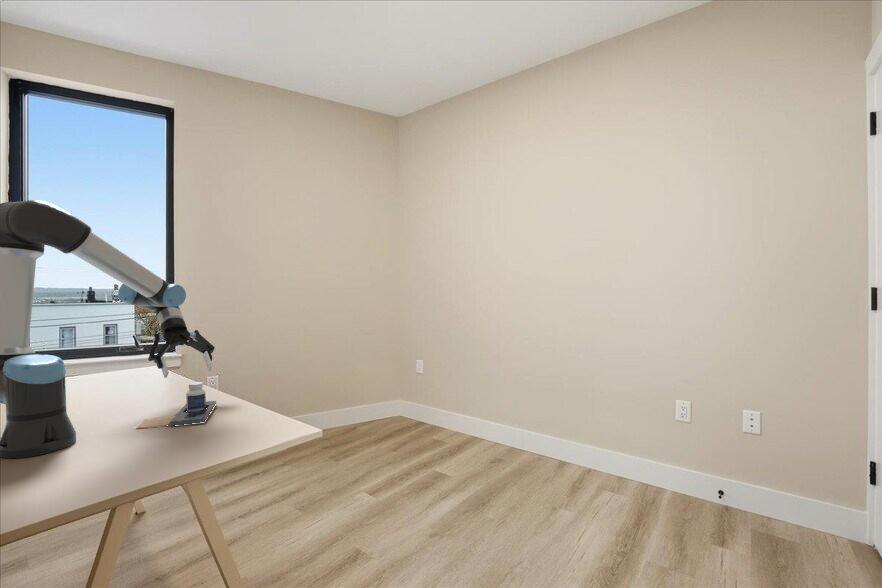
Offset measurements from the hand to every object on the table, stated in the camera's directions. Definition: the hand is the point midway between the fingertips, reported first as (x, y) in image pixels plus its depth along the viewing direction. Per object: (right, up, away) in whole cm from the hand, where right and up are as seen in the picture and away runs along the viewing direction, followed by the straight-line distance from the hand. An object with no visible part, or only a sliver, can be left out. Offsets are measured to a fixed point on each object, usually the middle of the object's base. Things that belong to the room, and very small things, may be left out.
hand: (189, 371), depth 152 cm
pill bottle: (+5, -13, -6) cm, 15 cm away
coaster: (-2, -13, -15) cm, 20 cm away
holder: (+6, -12, -8) cm, 16 cm away
